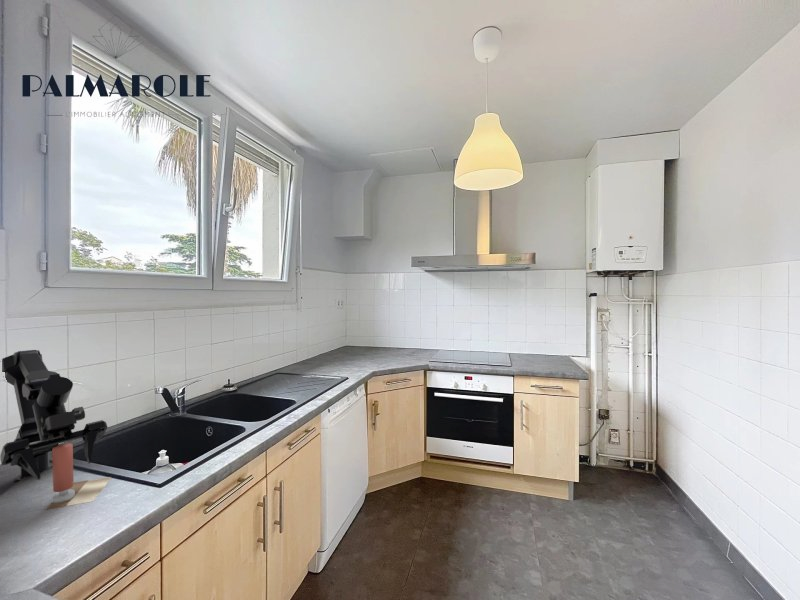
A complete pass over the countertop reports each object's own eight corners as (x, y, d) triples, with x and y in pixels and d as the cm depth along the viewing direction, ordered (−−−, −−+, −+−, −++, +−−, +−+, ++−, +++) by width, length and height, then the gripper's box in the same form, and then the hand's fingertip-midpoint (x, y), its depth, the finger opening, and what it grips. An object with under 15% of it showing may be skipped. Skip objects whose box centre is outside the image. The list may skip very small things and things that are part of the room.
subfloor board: (69, 487, 92) (69, 483, 92) (111, 481, 95) (111, 476, 95) (44, 514, 81) (44, 509, 81) (93, 505, 84) (93, 500, 84)
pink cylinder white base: (59, 495, 86) (58, 444, 86) (78, 492, 87) (77, 442, 87) (48, 504, 82) (46, 451, 82) (68, 502, 83) (66, 449, 83)
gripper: (3, 409, 78) (15, 470, 73) (105, 390, 94) (121, 439, 89) (-5, 435, 83) (6, 495, 77) (94, 413, 99) (109, 461, 93)
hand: (65, 470), depth 84 cm, fingers open, 9 cm apart
